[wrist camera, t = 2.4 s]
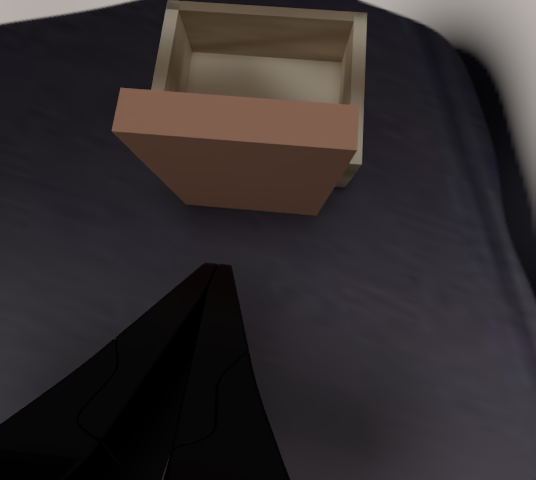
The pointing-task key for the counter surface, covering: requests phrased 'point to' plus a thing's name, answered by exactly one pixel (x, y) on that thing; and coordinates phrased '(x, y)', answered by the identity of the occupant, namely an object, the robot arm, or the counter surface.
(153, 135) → the drawer panel
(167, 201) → the counter surface
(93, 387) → the robot arm
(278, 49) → the tray
